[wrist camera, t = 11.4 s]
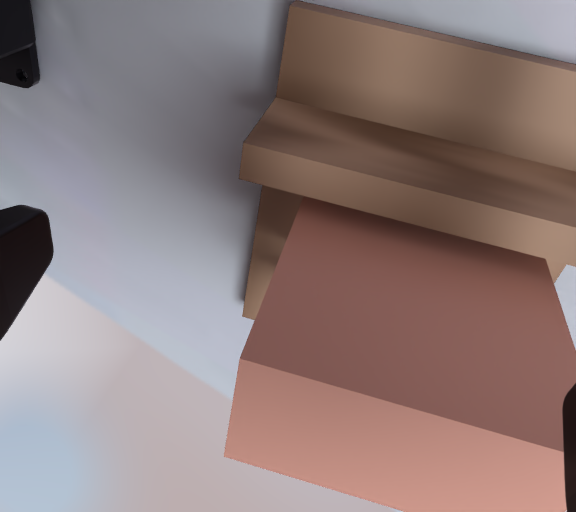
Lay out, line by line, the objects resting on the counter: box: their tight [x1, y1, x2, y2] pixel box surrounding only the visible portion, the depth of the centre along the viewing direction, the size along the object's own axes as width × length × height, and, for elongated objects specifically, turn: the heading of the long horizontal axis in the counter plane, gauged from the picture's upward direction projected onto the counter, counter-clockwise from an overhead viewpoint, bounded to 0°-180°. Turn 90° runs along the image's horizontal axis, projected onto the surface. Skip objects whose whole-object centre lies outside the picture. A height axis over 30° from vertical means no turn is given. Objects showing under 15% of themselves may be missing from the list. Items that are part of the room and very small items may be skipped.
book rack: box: [239, 0, 576, 320], centre depth 19 cm, size 12×15×5 cm
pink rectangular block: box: [224, 196, 576, 512], centre depth 16 cm, size 8×4×10 cm, turn 80°
